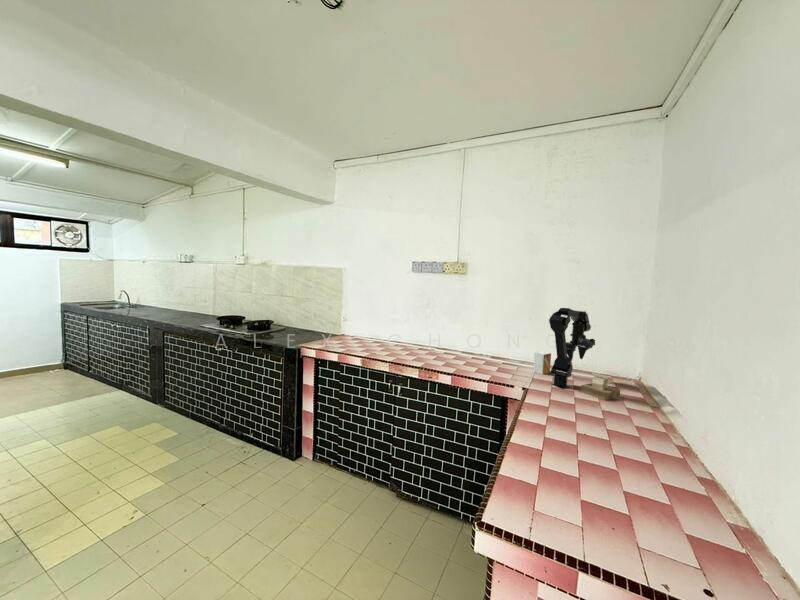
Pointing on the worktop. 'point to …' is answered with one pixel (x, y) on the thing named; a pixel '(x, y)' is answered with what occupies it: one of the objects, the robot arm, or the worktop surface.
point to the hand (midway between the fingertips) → (576, 359)
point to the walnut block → (600, 392)
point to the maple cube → (600, 382)
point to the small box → (542, 362)
